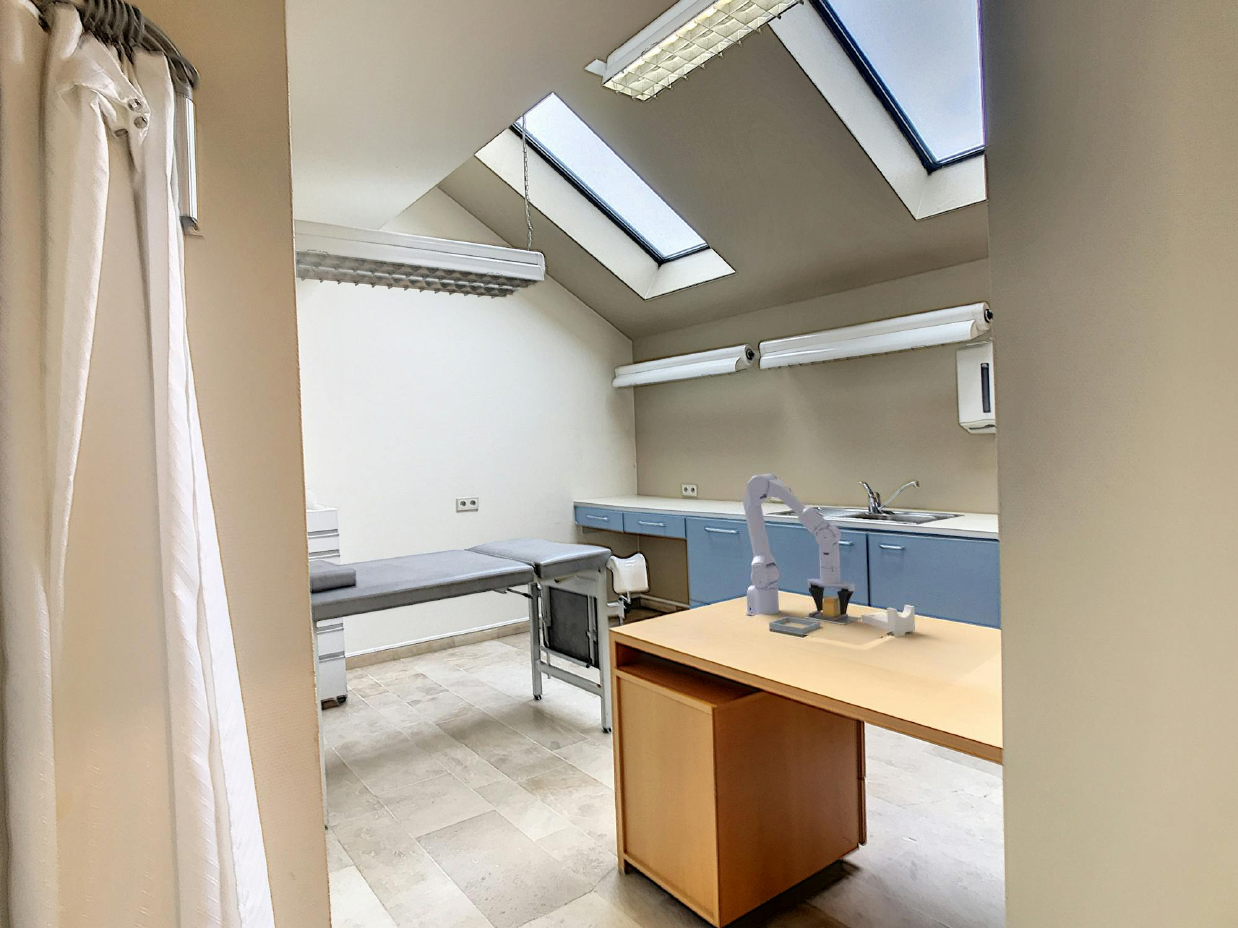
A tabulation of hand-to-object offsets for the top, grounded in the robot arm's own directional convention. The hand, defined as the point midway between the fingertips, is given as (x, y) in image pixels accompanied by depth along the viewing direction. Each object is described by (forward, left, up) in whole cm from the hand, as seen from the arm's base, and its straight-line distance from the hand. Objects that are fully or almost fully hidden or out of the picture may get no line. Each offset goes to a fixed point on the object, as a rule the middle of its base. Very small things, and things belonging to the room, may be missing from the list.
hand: (831, 612), depth 210 cm
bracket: (+16, +2, -3) cm, 17 cm away
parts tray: (-3, -15, -3) cm, 16 cm away
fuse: (0, 0, -2) cm, 2 cm away
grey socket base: (0, 0, -3) cm, 3 cm away
